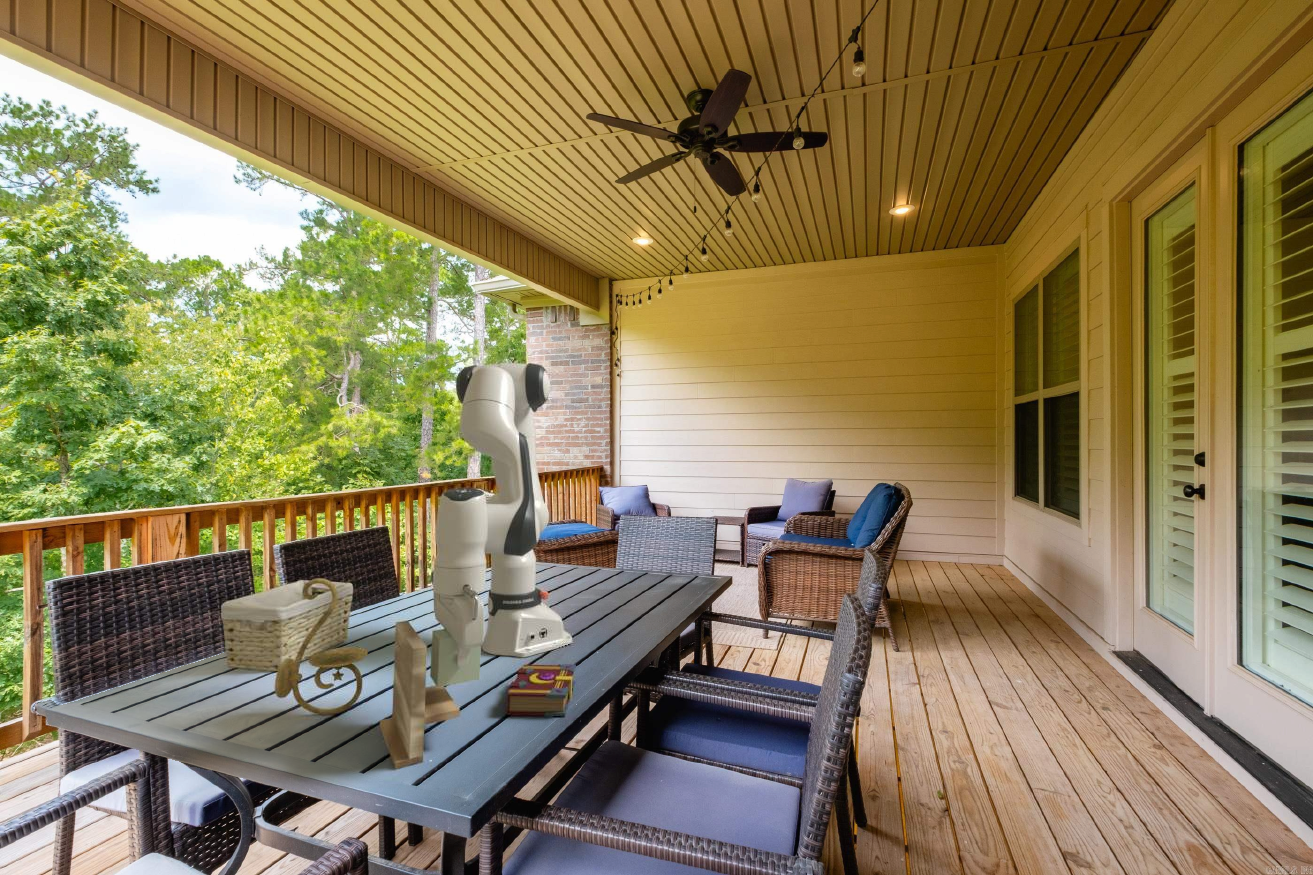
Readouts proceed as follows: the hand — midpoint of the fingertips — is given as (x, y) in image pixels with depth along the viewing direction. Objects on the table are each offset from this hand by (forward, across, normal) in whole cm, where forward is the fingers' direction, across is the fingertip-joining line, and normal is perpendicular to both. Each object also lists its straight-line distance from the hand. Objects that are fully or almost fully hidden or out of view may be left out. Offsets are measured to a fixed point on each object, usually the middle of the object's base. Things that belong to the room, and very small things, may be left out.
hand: (456, 658), depth 99 cm
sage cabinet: (+3, 0, 0) cm, 3 cm away
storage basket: (+13, +57, +24) cm, 63 cm away
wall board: (+12, 0, +6) cm, 14 cm away
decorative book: (+13, +4, -18) cm, 23 cm away
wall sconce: (+13, +18, +19) cm, 29 cm away
